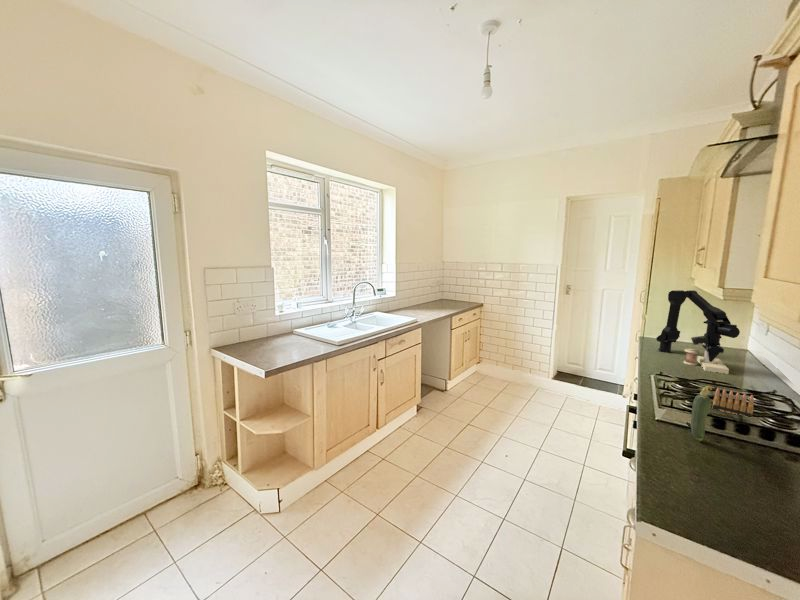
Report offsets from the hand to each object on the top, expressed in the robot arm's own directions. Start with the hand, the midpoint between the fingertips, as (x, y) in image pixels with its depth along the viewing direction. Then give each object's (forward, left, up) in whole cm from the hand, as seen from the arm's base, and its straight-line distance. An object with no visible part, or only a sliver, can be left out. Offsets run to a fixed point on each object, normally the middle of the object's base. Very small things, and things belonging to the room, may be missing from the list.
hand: (709, 360), depth 177 cm
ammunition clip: (+73, -7, -4) cm, 73 cm away
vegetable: (+96, -20, -4) cm, 98 cm away
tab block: (0, 0, -2) cm, 2 cm away
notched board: (0, +1, -4) cm, 4 cm away
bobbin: (0, -8, -4) cm, 8 cm away
